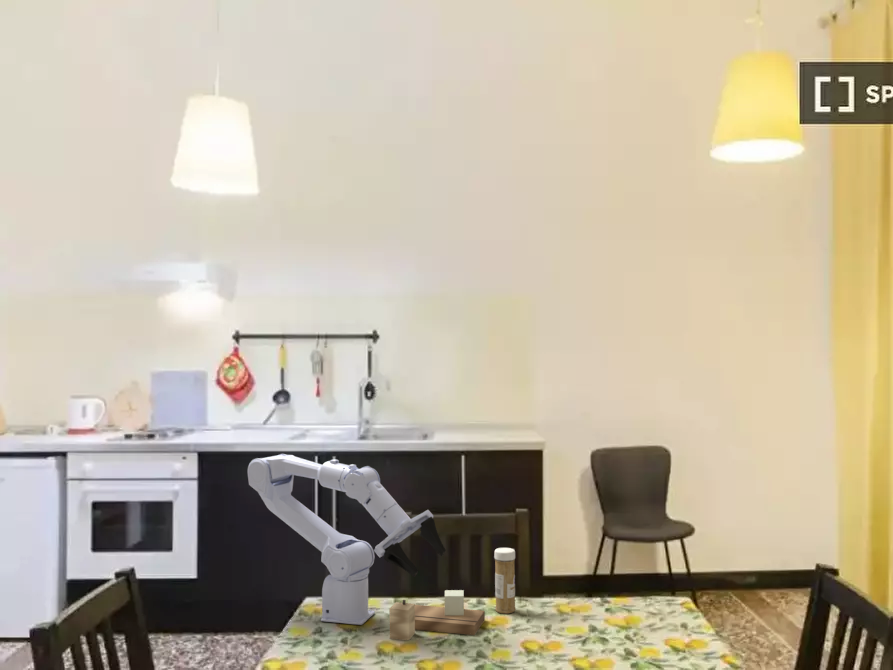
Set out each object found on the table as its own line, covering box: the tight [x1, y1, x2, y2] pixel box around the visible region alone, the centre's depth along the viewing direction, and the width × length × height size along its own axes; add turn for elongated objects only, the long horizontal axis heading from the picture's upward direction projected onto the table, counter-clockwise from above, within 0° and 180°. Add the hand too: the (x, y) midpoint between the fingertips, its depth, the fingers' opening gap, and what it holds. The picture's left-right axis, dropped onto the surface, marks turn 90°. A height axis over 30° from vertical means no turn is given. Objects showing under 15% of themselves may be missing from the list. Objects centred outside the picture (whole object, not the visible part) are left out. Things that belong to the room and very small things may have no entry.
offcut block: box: [444, 589, 465, 615], centre depth 168 cm, size 4×4×4 cm
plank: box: [415, 604, 486, 636], centre depth 167 cm, size 16×9×2 cm, turn 74°
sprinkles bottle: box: [493, 547, 516, 615], centre depth 175 cm, size 5×5×14 cm
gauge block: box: [389, 599, 416, 641], centre depth 160 cm, size 4×4×7 cm
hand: (430, 563), depth 161 cm, fingers open, 7 cm apart
